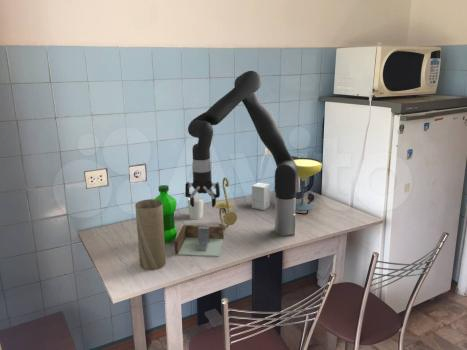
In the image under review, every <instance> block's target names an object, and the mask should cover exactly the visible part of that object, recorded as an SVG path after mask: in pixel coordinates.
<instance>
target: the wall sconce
mask: <svg viewBox="0 0 467 350" xmlns="http://www.w3.org/2000/svg"><path fill="white" fill-rule="evenodd" d="M229 183H230V182H229V179H228V178H227V177H226V176H225V177H223V179H222V190H223V194H224V198H225V200H220V201H216V205H215V206H214V207H213V208H216V209H219V213H218V214H219V219H220V222H221V223H220V224H221V226H224V229H225V228H229V226H233V225H235V223H236V222H237V221H238V216H237V213H236V212H235V211H230V208H232V207H234V203H233V202H231V201H229V200H228V195H227V190H226V187H227V188H228V187H229V185H230V184H229ZM222 214H223V215H222ZM222 216H223V217H222Z"/></svg>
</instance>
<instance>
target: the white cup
mask: <svg viewBox="0 0 467 350" xmlns="http://www.w3.org/2000/svg"><path fill="white" fill-rule="evenodd" d="M193 197H194V207H192V206H191V205H190V198H189V197H187V207H188V215H189V219H191V220H201V219H203V217H204V197H203V196H201V195H194V196H193Z"/></svg>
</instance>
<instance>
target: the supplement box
mask: <svg viewBox="0 0 467 350" xmlns="http://www.w3.org/2000/svg"><path fill="white" fill-rule="evenodd" d="M270 198H271V184H270V183H266V182H256V183H254V184H252V186H251V208H252V209H257V210H261V211H265V210H266V209H268V208H269V207H270V205H271V203H270V202H271V199H270Z"/></svg>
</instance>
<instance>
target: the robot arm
mask: <svg viewBox="0 0 467 350" xmlns="http://www.w3.org/2000/svg"><path fill="white" fill-rule="evenodd" d="M261 85H262V77H261V75H260V74H259V73H258V72H257V71H255V70H248V71H245V72H243V73H242V74H241V75H239V76H237V77H236V78H235V81H234V87H233V88H232V89H231V90H230V91H228V92H227V93H226V94H224V96H222V97H221V98H220V99H218V100H217V101H216V102H215V103H213V104H212V106H211V107H209V108H208V109H207V110H206V111H205V112H202V113H201V114H199V115H198V116H196V117H195V118H194V119H192V120H191V121H190V123H189V124H188V127H187V132H188V135H190V136H191V137H193V138H195V139H196V138H197V143H195V144H193V145H192V149H191V150H192V164H191V165H192V167H191V168H192V182H189V181H187V182H186V183H185V191H184V192H185V197H186V198H190V205H191V206H192V207H194V197H193V196H196V195H197V193H198V194H208V196H210V197H211V206H212V208H215V207H214V206H215V205H216V202H217V200H216V199H217V198H219V197H220V196H221V193H220V192H221V190H220V188H221V187H220V183H219V182H218V181H217V182H213V181H212V163H211V151H210V150H211V149H210V148H211V145H212V141H213V135H214V128H213V126H217V125H218V124H220V123H221V122H222V121H223V120H224V119H225V118H227V116H228V115H229V114H230V113H231V112H232V111H233V110H234V109H235V108H237V106H238V105H239V104H240V103H242V104H243V105H244V107H245V109H246V111H247V113H248V115H249V117H250V119H251V121H252V124H253V126H254V127H255V130H256V132H257V134H258V137H259V138H260V141H261V142H262V143H263V145H264V146H265V148H266V149H268V150H269V152H270V154H271V156H272V157H273V160H274V162H275V165H276V168H275V171H274V193H275V199H274V200H275V202H274V233H275V234H276V235H279V236H292V235H293V236H294V235H295V234H296V219H297V218H296V217H297V215H296V203H297V202H296V201H297V190H296V185H297V184H296V182H297V181H296V179H297V177H298V176H297V173H298V168H297V165H296V163H295V162H294V160H293V156H292V155H291V153H290V152H289V150H288V148H287V146H286V143H285V140H284V137H283V136H282V133H281V131H280V128H279V126H278V123H277V121H276V119H275V118H274V116H273V115H272V114H271V113H270V111H268V110H267V109H266V108H265V107H264V106H263V105H262V104H261V102H260V101H259V98H258V96H257V94H256V92H257V91H258V90H259V89H260V87H261ZM191 187H192V188H193V189H194V190H193V191H192V193H190V189H191ZM212 187H213V188H214V189H215V193H214V191H213V189H212Z"/></svg>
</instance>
